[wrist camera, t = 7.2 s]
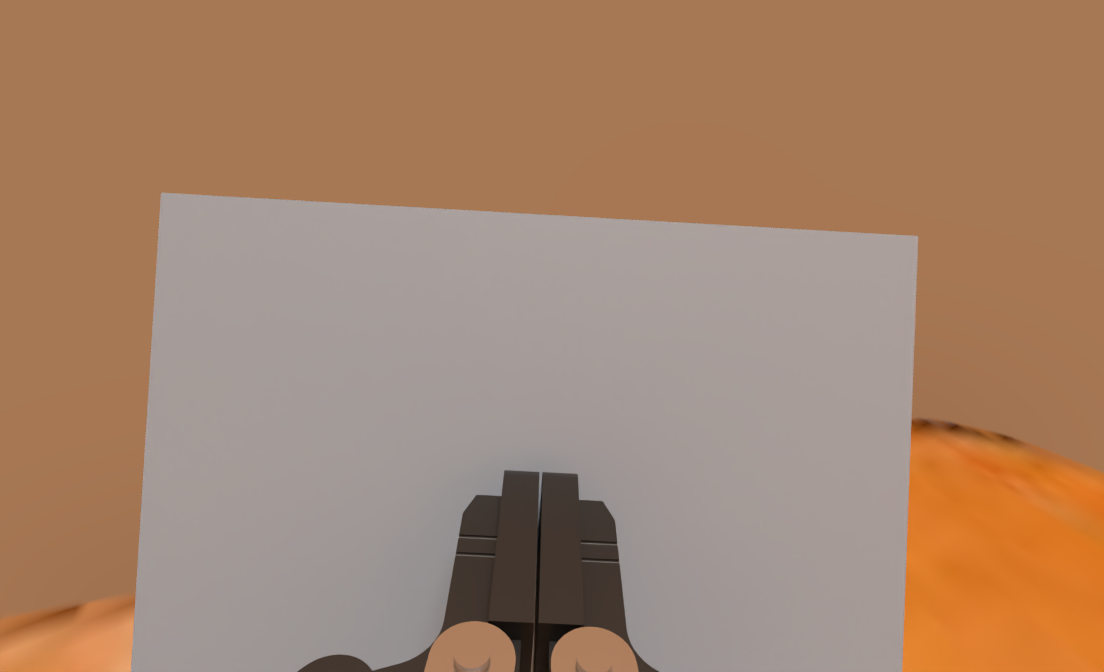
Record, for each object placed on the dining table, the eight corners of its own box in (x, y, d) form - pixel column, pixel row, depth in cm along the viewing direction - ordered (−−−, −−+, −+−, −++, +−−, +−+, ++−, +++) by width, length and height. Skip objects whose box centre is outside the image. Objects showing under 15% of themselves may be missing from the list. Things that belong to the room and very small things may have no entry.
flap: (124, 782, 13) (160, 192, 14) (141, 763, 14) (176, 199, 14) (897, 800, 14) (918, 236, 14) (881, 781, 15) (902, 240, 15)
